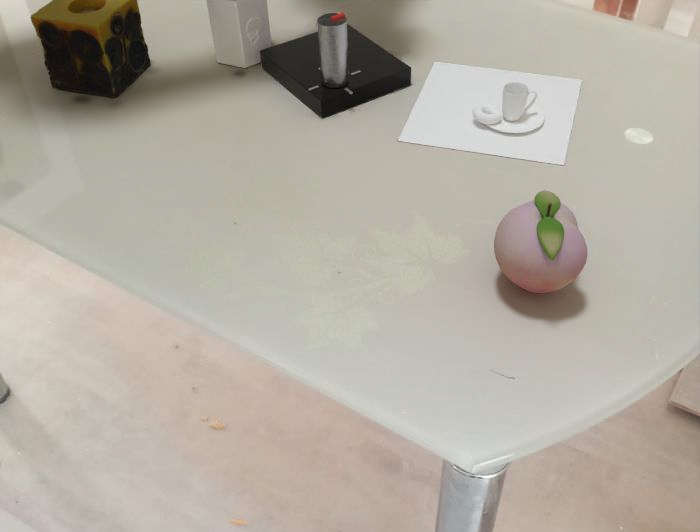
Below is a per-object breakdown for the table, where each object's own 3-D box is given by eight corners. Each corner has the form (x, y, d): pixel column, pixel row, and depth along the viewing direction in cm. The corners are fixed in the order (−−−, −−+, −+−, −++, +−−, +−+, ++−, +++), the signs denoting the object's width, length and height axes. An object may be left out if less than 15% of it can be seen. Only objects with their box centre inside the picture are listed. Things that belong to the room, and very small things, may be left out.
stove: (261, 67, 107) (259, 49, 105) (346, 38, 112) (345, 20, 110) (325, 121, 98) (324, 102, 96) (415, 87, 102) (415, 69, 100)
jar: (232, 75, 106) (218, -14, 97) (203, 52, 111) (187, -35, 102) (286, 54, 110) (278, -33, 101) (256, 33, 114) (246, -53, 105)
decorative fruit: (481, 256, 80) (491, 176, 72) (559, 250, 80) (577, 170, 73) (499, 321, 74) (512, 241, 66) (584, 315, 74) (607, 234, 66)
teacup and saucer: (467, 130, 95) (470, 100, 92) (479, 97, 100) (483, 67, 97) (539, 140, 93) (544, 110, 90) (548, 106, 98) (553, 76, 95)
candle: (51, 89, 105) (26, 17, 98) (90, 54, 111) (69, -17, 104) (116, 100, 103) (96, 27, 95) (153, 63, 109) (136, -8, 101)
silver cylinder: (330, 91, 98) (327, 27, 92) (315, 79, 100) (311, 15, 94) (354, 82, 99) (352, 18, 93) (339, 70, 101) (336, 7, 95)
